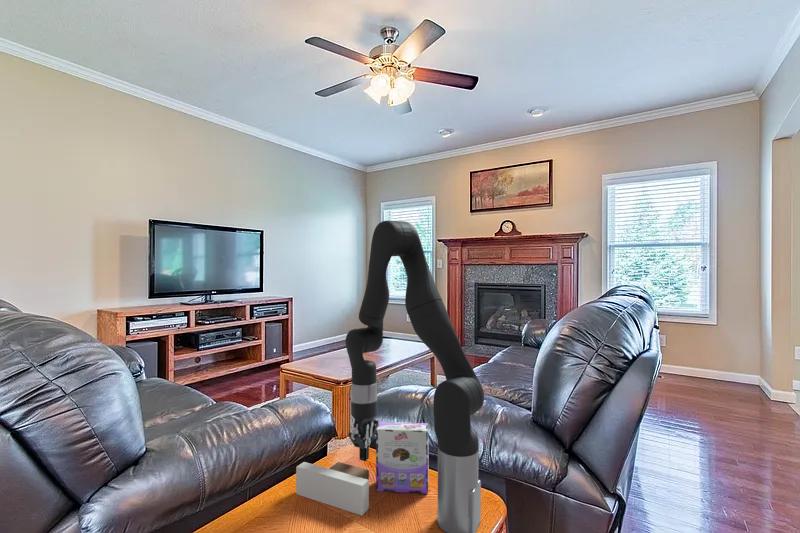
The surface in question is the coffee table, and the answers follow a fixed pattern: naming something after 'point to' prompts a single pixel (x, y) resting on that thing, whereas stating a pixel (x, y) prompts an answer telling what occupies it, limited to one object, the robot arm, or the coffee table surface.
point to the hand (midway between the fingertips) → (364, 459)
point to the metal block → (351, 470)
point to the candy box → (402, 457)
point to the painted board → (333, 487)
